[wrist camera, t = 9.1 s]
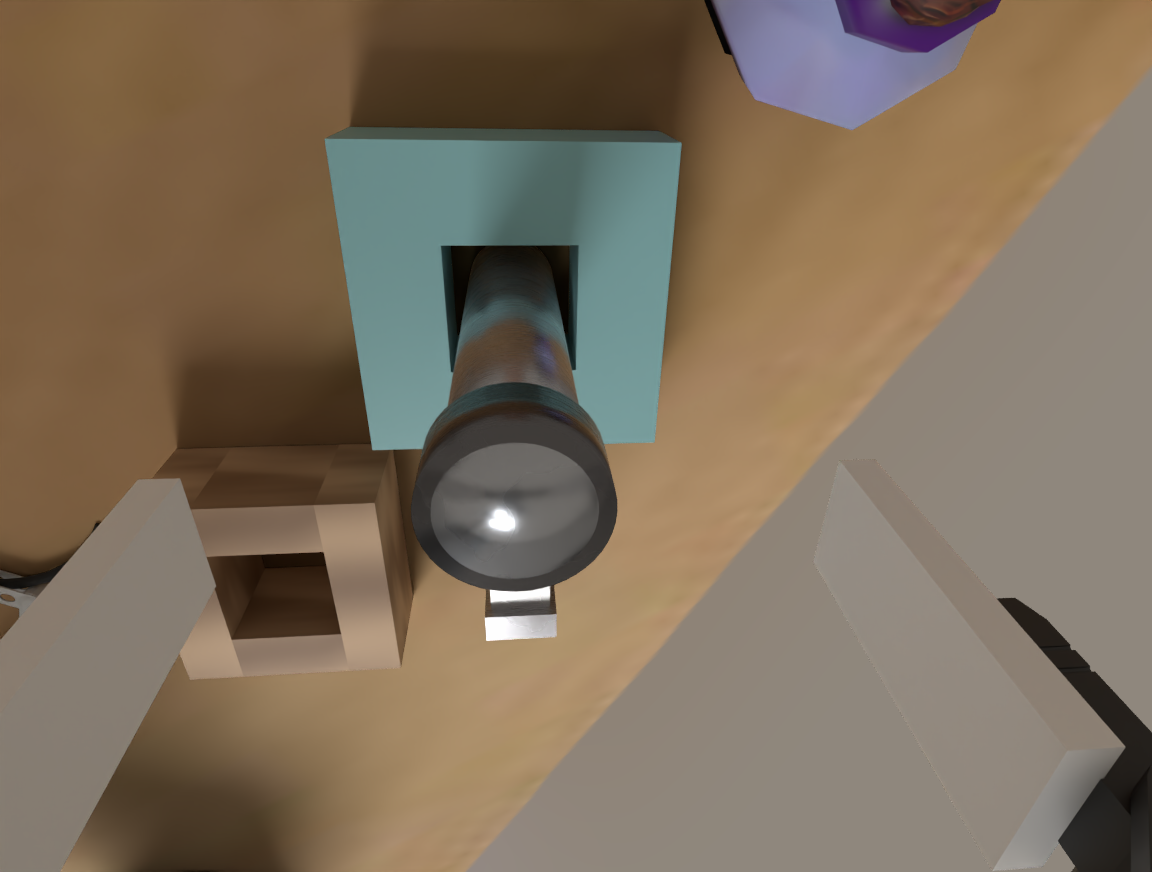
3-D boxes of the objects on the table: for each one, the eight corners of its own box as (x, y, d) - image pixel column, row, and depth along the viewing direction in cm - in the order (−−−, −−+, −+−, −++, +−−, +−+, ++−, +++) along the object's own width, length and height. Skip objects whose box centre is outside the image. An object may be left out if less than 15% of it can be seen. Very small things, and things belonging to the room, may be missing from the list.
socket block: (638, 400, 32) (654, 442, 29) (387, 406, 31) (372, 450, 28) (659, 130, 27) (681, 142, 23) (349, 126, 25) (324, 139, 22)
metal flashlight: (561, 327, 30) (612, 587, 16) (463, 328, 30) (421, 596, 15) (562, 228, 28) (622, 422, 13) (456, 228, 28) (399, 428, 13)
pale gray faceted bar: (552, 588, 38) (556, 636, 35) (488, 591, 37) (486, 640, 34) (552, 368, 31) (558, 403, 28) (474, 369, 31) (471, 405, 28)
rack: (413, 596, 37) (400, 667, 33) (227, 605, 37) (190, 679, 32) (392, 442, 32) (374, 503, 28) (176, 449, 32) (124, 511, 27)
